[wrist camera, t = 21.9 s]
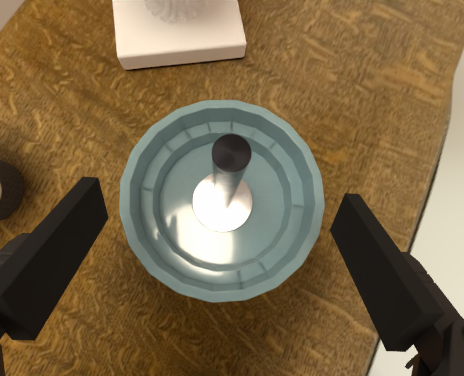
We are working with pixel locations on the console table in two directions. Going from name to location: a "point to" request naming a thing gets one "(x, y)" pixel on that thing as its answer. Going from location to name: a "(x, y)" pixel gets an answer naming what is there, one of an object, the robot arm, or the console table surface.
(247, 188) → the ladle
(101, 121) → the console table surface
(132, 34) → the trophy
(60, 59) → the console table surface
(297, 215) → the bowl
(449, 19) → the console table surface
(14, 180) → the coffee cup
